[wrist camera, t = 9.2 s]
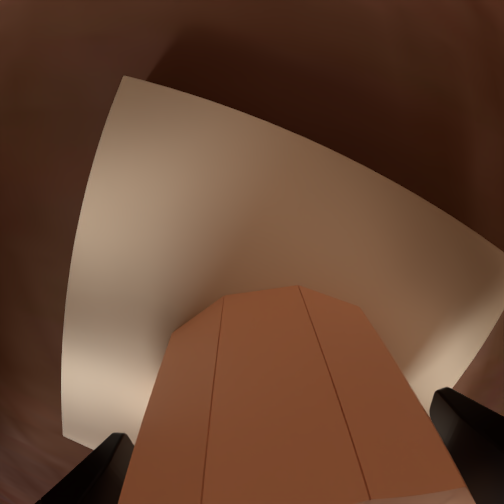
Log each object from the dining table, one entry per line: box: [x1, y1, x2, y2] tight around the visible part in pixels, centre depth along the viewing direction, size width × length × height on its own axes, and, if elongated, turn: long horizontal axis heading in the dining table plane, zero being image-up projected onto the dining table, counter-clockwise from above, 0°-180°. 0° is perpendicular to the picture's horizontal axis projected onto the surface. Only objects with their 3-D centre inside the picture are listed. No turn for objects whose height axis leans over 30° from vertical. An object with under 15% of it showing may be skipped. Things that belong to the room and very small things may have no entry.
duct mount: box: [61, 76, 504, 450], centre depth 8 cm, size 14×14×6 cm
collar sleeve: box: [118, 285, 476, 504], centre depth 7 cm, size 7×7×6 cm
